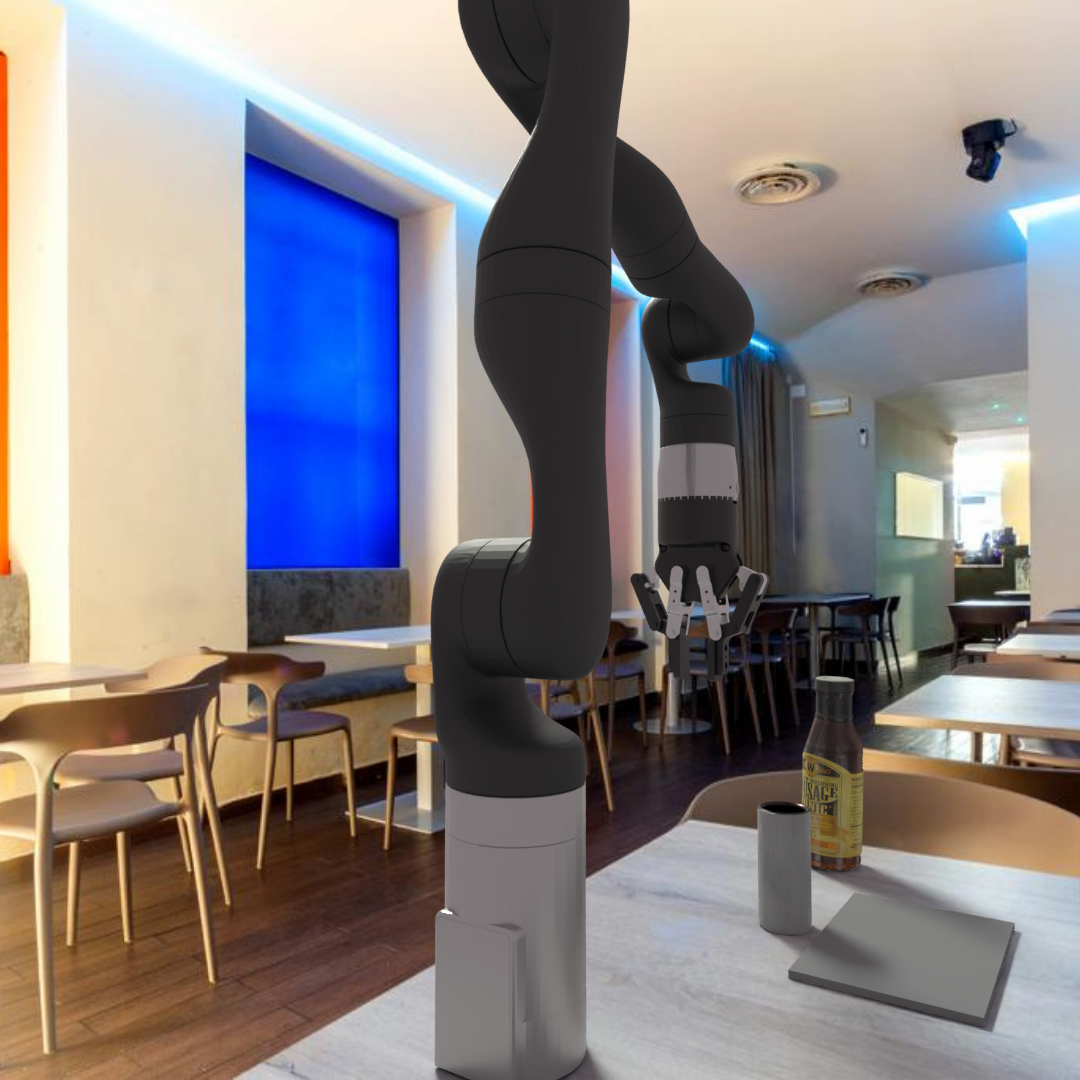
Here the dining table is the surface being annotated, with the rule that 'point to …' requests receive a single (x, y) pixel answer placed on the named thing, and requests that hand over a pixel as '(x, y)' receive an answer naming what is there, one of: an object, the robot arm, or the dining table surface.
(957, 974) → the mat
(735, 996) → the dining table surface
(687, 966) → the dining table surface
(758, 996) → the dining table surface
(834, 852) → the sauce bottle
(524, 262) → the robot arm
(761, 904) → the grey hollow cylinder
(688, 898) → the dining table surface
